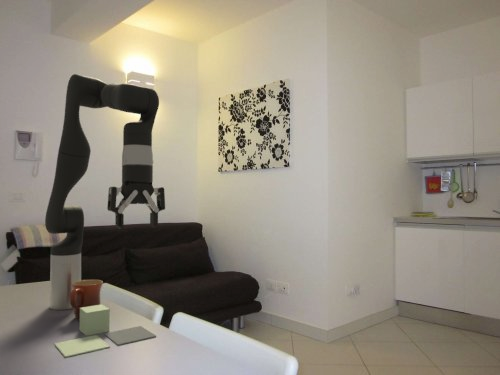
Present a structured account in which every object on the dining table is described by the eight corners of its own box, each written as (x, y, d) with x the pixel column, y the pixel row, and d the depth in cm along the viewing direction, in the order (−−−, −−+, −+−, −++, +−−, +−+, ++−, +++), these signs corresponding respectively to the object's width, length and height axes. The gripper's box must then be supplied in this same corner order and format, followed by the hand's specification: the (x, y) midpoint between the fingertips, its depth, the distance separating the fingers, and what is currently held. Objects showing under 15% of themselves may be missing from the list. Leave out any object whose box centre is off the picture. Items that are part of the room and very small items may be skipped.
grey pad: (104, 334, 106) (104, 333, 106) (140, 327, 113) (140, 325, 113) (118, 345, 99) (118, 344, 99) (156, 336, 105) (156, 335, 105)
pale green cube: (79, 330, 110) (79, 307, 110) (101, 325, 114) (102, 304, 114) (86, 336, 106) (86, 312, 106) (109, 331, 109) (109, 308, 109)
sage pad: (54, 344, 99) (54, 343, 99) (96, 336, 105) (96, 334, 105) (65, 357, 91) (65, 356, 91) (109, 347, 97) (109, 346, 97)
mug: (82, 311, 127) (83, 278, 128) (108, 313, 126) (108, 280, 126) (57, 323, 116) (57, 287, 116) (85, 325, 114) (85, 288, 114)
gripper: (157, 166, 111) (157, 226, 110) (104, 163, 102) (103, 228, 102) (169, 164, 105) (169, 227, 104) (114, 161, 96) (114, 230, 96)
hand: (137, 228), depth 103 cm, fingers open, 8 cm apart
